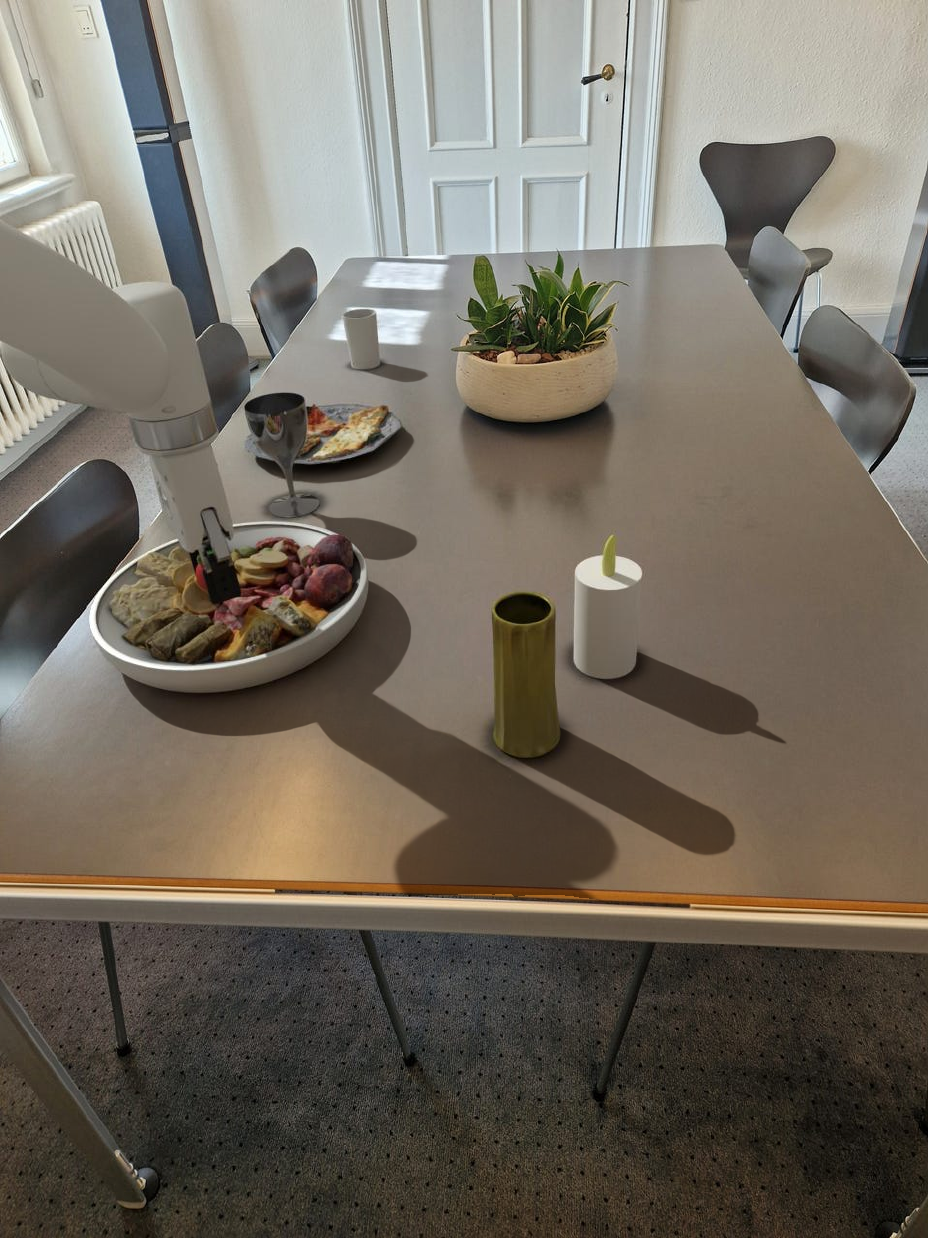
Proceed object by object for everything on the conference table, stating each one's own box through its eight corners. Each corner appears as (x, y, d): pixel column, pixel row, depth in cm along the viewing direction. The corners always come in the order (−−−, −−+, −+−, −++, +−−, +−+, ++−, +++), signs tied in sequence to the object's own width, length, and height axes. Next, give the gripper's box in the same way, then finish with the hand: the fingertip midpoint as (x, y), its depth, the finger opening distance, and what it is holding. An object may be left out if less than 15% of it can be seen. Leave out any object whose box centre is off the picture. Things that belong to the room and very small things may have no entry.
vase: (552, 764, 75) (551, 633, 67) (485, 753, 77) (477, 623, 68) (566, 719, 80) (567, 591, 71) (503, 709, 81) (497, 583, 73)
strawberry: (206, 606, 88) (198, 569, 85) (196, 590, 91) (187, 553, 88) (244, 595, 89) (236, 558, 87) (232, 579, 92) (224, 543, 90)
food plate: (303, 410, 151) (300, 390, 149) (422, 420, 143) (421, 400, 141) (222, 468, 132) (217, 447, 130) (354, 484, 124) (351, 462, 122)
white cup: (385, 366, 168) (379, 315, 162) (352, 372, 167) (345, 320, 161) (378, 357, 173) (372, 306, 168) (346, 362, 172) (339, 311, 166)
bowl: (119, 747, 80) (94, 682, 76) (91, 596, 103) (70, 540, 99) (412, 652, 90) (405, 589, 85) (327, 533, 113) (317, 479, 108)
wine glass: (334, 499, 121) (317, 397, 112) (296, 523, 115) (276, 418, 107) (292, 488, 125) (273, 389, 116) (254, 511, 119) (231, 408, 111)
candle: (616, 634, 90) (622, 507, 82) (647, 669, 85) (658, 538, 76) (562, 649, 89) (563, 522, 80) (591, 685, 83) (595, 553, 75)
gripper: (114, 409, 84) (164, 567, 94) (156, 465, 72) (208, 640, 82) (189, 391, 87) (229, 546, 97) (242, 442, 75) (281, 613, 85)
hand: (219, 587), depth 90 cm, fingers closed on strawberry, 4 cm apart
